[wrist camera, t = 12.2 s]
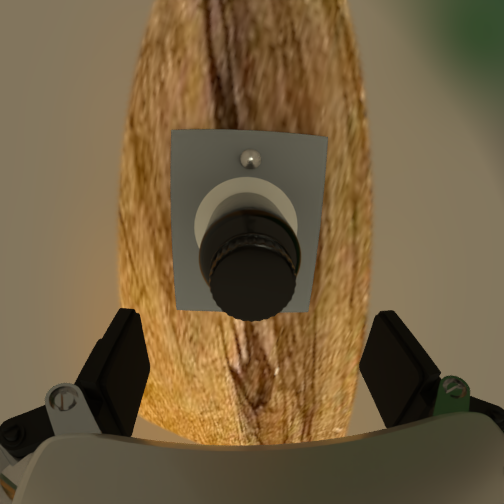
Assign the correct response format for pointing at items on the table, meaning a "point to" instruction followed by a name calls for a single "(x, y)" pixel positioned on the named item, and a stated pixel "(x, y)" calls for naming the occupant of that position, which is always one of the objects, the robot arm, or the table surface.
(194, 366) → the table surface
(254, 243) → the supplement bottle
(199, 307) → the board
